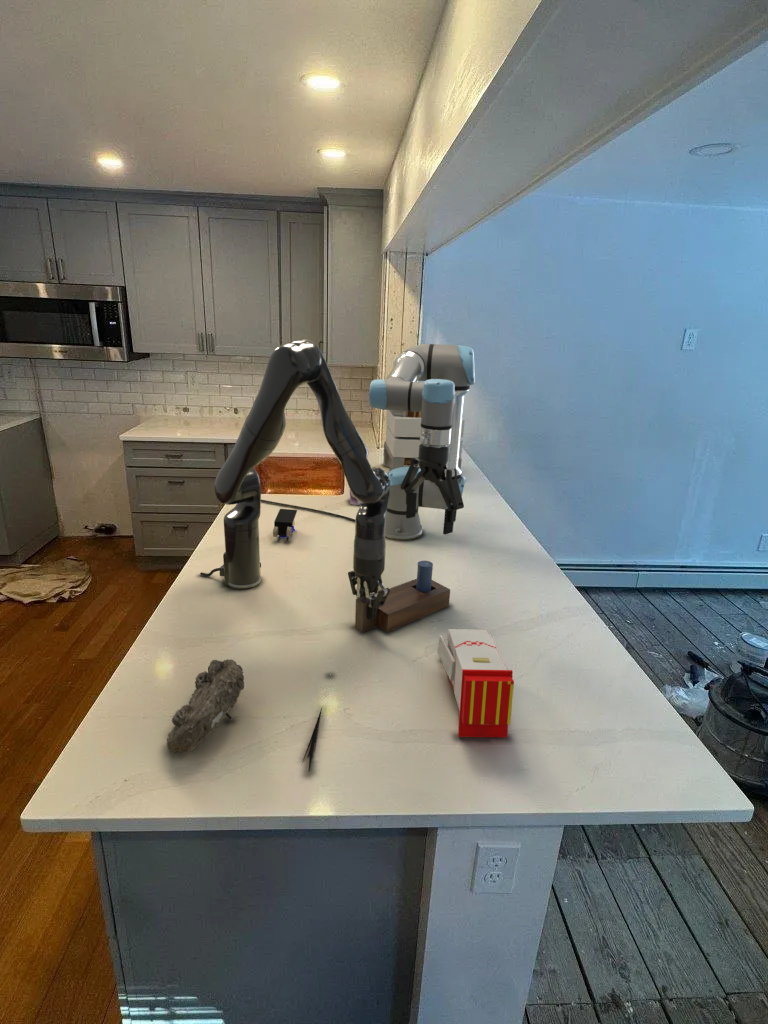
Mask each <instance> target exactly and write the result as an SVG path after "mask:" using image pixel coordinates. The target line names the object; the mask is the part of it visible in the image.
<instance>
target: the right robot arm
mask: <svg viewBox="0 0 768 1024" xmlns="http://www.w3.org/2000/svg"><path fill="white" fill-rule="evenodd" d="M474 352H475V351H474V349H473V348H472V347H471V346H467V345H460V344H440V343H439V344H438V343H437V344H436V343H435V344H434V343H419V344H416V345H413V346H410V347H408V348H406V349H405V350H403V351H401V352H400V353H399V354H397V356H396V357H395V359H394V361H393V367H392V369H391V371H390V372H389V374H388V375H387V376H386V378H385V379H384V378H380V379H372V381H371V382H370V385H369V389H368V390H369V391H368V402H369V406H370V407H371V408H372V409H376V410H377V409H378V410H382V411H387V410H399V411H413V412H422V415H421V429H420V442H421V444H420V445H419V457H417V458H412V459H411V462H410V466H404V467H400V468H396V469H393V470H391V471H390V470H389V472H388V473H387V474H388V476H389V479H390V495H389V501H388V506H387V511H386V516H385V538H387V539H389V540H395V541H410V540H415V539H418V538H420V537H421V536H422V535H423V525H422V524H421V518H420V515H419V508H429V509H438V510H444V519H443V520H444V521H443V530H442V534H443V535H445V536H446V535H450V534H452V533H453V532H454V523H455V522H456V520H457V511H458V510H461V509H464V508H465V505H464V500H463V493H464V487H465V484H466V477H465V476H463V474H462V473H463V472H462V469H461V470H460V469H459V467H458V459H459V447H460V439H461V438H460V436H461V425H462V419H463V414H464V413H463V412H464V402H465V401H464V400H465V395H466V394H467V393H468V392H469V391H470V388H471V386H474V385H475V382H476V376H475V373H476V371H475V370H476V369H475V353H474ZM261 502H262V503H267V504H272V505H279V506H285V507H290V508H295V509H302V510H305V511H311V512H316V513H321V514H326V515H328V516H333V517H338V518H342V519H346V520H348V521H352V522H355V521H356V518H352V517H349V516H346V515H341V514H338V513H334V512H333V513H332V512H328V511H325V510H319V509H315V508H310V507H305V506H300V505H293V504H287V503H283V502H277V501H271V500H266V499H261Z"/></svg>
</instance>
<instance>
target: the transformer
mask: <svg viewBox="0 0 768 1024" xmlns="http://www.w3.org/2000/svg"><path fill="white" fill-rule="evenodd" d="M385 414H386V415H385V423H386V428H385V438H384V442H383V466H384V467H388V468H389V472H390V471H391V470H393V469H396V468H400V467H405V466H406V467H410V462H411V459H412V458H417V457H419V445H420V444H421V442H420V429H421V415H422V412H413V411H399V410H386V413H385ZM464 429H465V419H464V418H462V425H461V436H460V447H459V459H458V467H459V469H460V470H461V471H462V461H463V460H462V453H463V442H464V441H463V440H462V439H463V438H464V431H465V430H464Z"/></svg>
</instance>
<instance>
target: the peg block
mask: <svg viewBox="0 0 768 1024" xmlns="http://www.w3.org/2000/svg"><path fill="white" fill-rule="evenodd" d="M416 582H417V578H415V579H414V578H413V579H412V580H408V581H406V582H403V583H400V584H398V585H395V586H392V587H390V588H389V589H390V592H389V594H388V597H387V599H386V601H385V603H384V605H383V606H380V607H378V608H377V617H376V618H375V619H373V620H371V621H370V620H368V619H367V616H368V599H367V598H366V595H365V596H363V597H360V598H357V597H356V598H355V611H354V612H355V616H354V617H355V619H354V628H355V629H357V630H358V631H359V632H361V633H365V632H368V631H370V630H372V629H373V630H374V629H375V628H377V627H379V628H380V629H382V630H383V631H385V632H386V633H389V632H391V631H394V630H396V629H399V628H401V627H403V626H406V625H407V624H410V623H412V622H414V621H417V620H419V619H422V618H424V617H426V616H429V615H431V614H433V613H437V611H440V610H443V609H445V608H448V607H450V598H451V589H450V588H448V587H446V586H445V585H443V584H441V583H440V582H437V581H436V580H434V579H432V583H431V591H429V592H426V593H422V592H420V591H418V590H416ZM370 594H372V593H370ZM373 601H374V598H373V599H372V602H373Z"/></svg>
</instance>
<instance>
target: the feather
mask: <svg viewBox="0 0 768 1024" xmlns="http://www.w3.org/2000/svg"><path fill="white" fill-rule="evenodd" d="M329 675H330V676H331V675H332V674H331V673H330V674H329ZM322 710H323V707H321V708H320V710H319V713H318V716H317V719H316V723H315V725H314V728H313V731H312V733H311V737H310V739H309V742H308V745H307V748H306V751H305V754H304V757H303V760H302V763H301V767H302V765H303V763H304V761H305V758H308V759H309V760H308V762H307V763H308V764H307V766H308V771H310V770H311V766H312V765H311V764H312V760H313V757H315V756H314V755H315V751H316V749H315V746H317V739H318V733H319V729H320V722H321V717H322V712H323V711H322ZM313 754H314V755H313ZM306 755H307V757H306Z"/></svg>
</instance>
